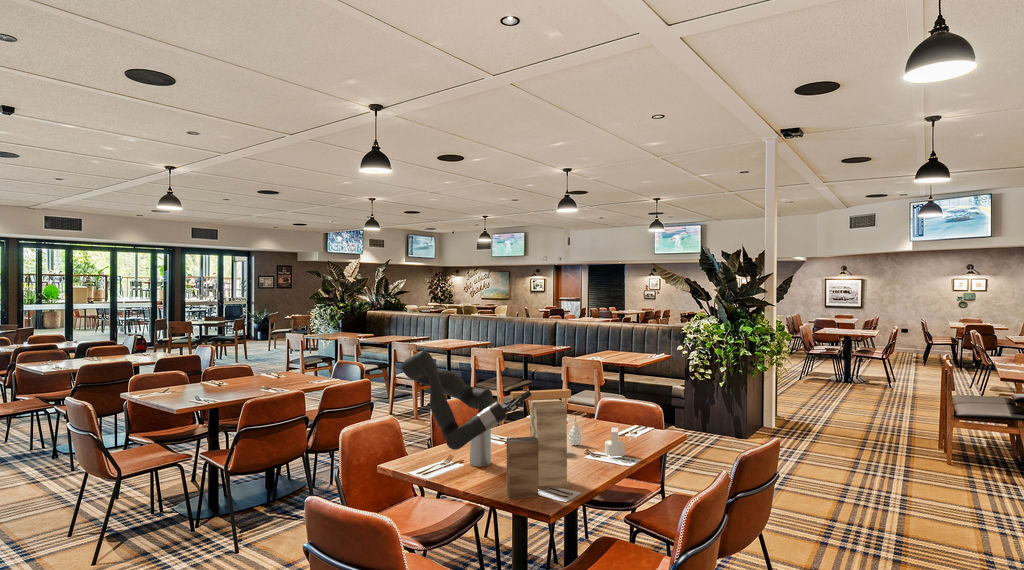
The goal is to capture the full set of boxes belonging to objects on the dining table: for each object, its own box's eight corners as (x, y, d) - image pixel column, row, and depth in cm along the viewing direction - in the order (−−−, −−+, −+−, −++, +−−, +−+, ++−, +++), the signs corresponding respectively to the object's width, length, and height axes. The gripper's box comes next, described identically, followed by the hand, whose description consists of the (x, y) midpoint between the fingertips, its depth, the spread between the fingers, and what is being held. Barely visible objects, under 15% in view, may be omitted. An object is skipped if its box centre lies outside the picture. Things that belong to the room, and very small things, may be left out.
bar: (510, 399, 218) (510, 391, 218) (568, 396, 224) (568, 389, 224) (512, 400, 215) (512, 393, 215) (571, 397, 221) (571, 390, 221)
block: (506, 494, 207) (506, 438, 207) (534, 492, 209) (534, 436, 210) (509, 499, 202) (509, 441, 203) (538, 496, 205) (538, 439, 205)
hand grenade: (567, 446, 274) (567, 417, 274) (570, 443, 280) (570, 415, 280) (582, 447, 271) (582, 419, 272) (585, 444, 277) (585, 416, 277)
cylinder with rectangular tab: (624, 459, 253) (624, 432, 253) (604, 457, 254) (604, 431, 255) (624, 453, 261) (624, 428, 262) (605, 452, 263) (605, 427, 263)
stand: (527, 480, 223) (526, 400, 224) (560, 477, 227) (559, 398, 228) (535, 490, 212) (535, 405, 212) (570, 486, 215) (570, 403, 216)
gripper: (490, 411, 207) (529, 386, 211) (483, 404, 221) (519, 380, 225) (500, 428, 208) (538, 403, 212) (492, 419, 221) (528, 396, 225)
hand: (528, 391), depth 218 cm, fingers closed on bar, 3 cm apart
